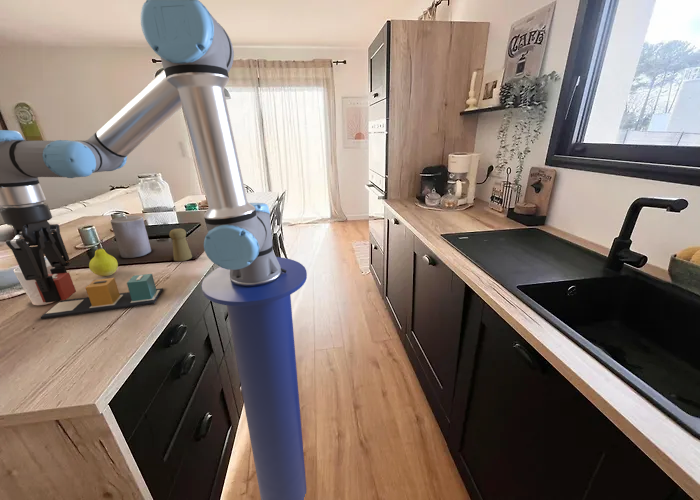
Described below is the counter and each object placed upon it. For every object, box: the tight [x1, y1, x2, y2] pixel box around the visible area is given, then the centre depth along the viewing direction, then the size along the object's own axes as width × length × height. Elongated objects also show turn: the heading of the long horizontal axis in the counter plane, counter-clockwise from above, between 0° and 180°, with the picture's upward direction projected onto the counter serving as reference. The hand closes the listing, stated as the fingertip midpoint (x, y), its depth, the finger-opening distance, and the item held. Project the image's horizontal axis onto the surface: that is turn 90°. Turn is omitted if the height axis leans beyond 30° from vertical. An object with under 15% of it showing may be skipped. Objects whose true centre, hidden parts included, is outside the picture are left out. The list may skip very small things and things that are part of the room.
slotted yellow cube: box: [85, 277, 121, 307], centre depth 75 cm, size 4×4×6 cm
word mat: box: [40, 287, 164, 320], centre depth 76 cm, size 24×8×1 cm, turn 107°
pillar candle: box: [110, 215, 152, 259], centre depth 107 cm, size 10×10×15 cm
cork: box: [168, 228, 193, 262], centre depth 103 cm, size 6×6×11 cm
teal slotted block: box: [126, 273, 157, 301], centre depth 77 cm, size 4×4×6 cm
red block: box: [35, 272, 77, 302], centre depth 71 cm, size 4×4×6 cm
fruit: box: [88, 238, 119, 277], centre depth 90 cm, size 7×7×12 cm
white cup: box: [12, 259, 55, 306], centre depth 76 cm, size 8×8×10 cm
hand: (60, 295), depth 72 cm, fingers closed on red block, 4 cm apart
